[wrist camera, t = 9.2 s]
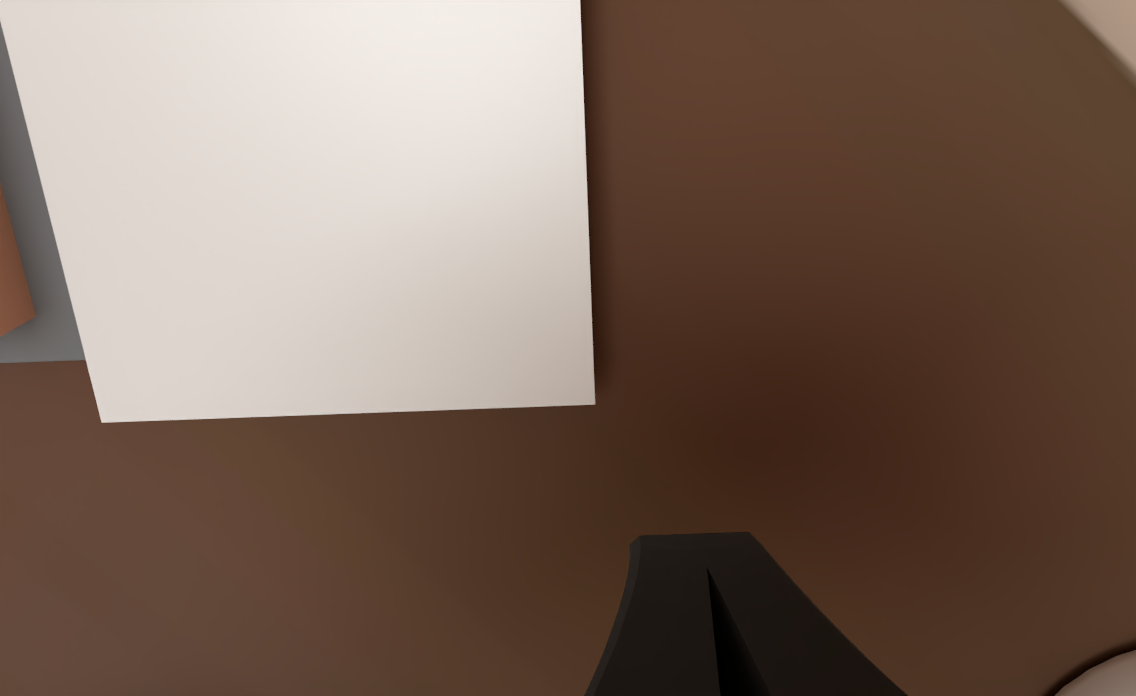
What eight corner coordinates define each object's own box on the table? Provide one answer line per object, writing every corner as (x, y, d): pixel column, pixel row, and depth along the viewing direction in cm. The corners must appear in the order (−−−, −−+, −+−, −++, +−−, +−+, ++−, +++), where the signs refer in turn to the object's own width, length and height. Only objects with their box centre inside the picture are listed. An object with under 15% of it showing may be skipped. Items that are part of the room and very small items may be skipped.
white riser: (593, 375, 19) (595, 405, 18) (136, 392, 20) (101, 422, 18) (574, -150, 16) (574, -165, 14) (16, -121, 16) (-39, -133, 15)
